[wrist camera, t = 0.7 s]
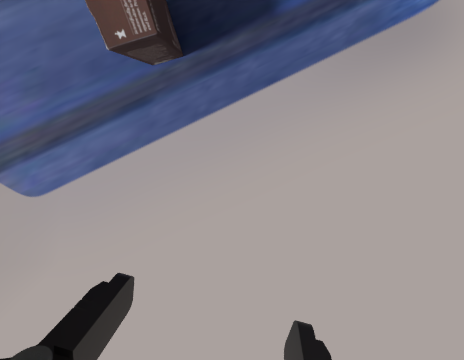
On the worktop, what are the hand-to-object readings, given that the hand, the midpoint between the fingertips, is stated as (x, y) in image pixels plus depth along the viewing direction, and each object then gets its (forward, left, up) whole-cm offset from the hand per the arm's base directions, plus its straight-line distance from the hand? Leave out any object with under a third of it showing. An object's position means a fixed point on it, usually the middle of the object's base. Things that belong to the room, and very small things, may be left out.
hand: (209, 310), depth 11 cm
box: (-17, +3, -24) cm, 30 cm away
